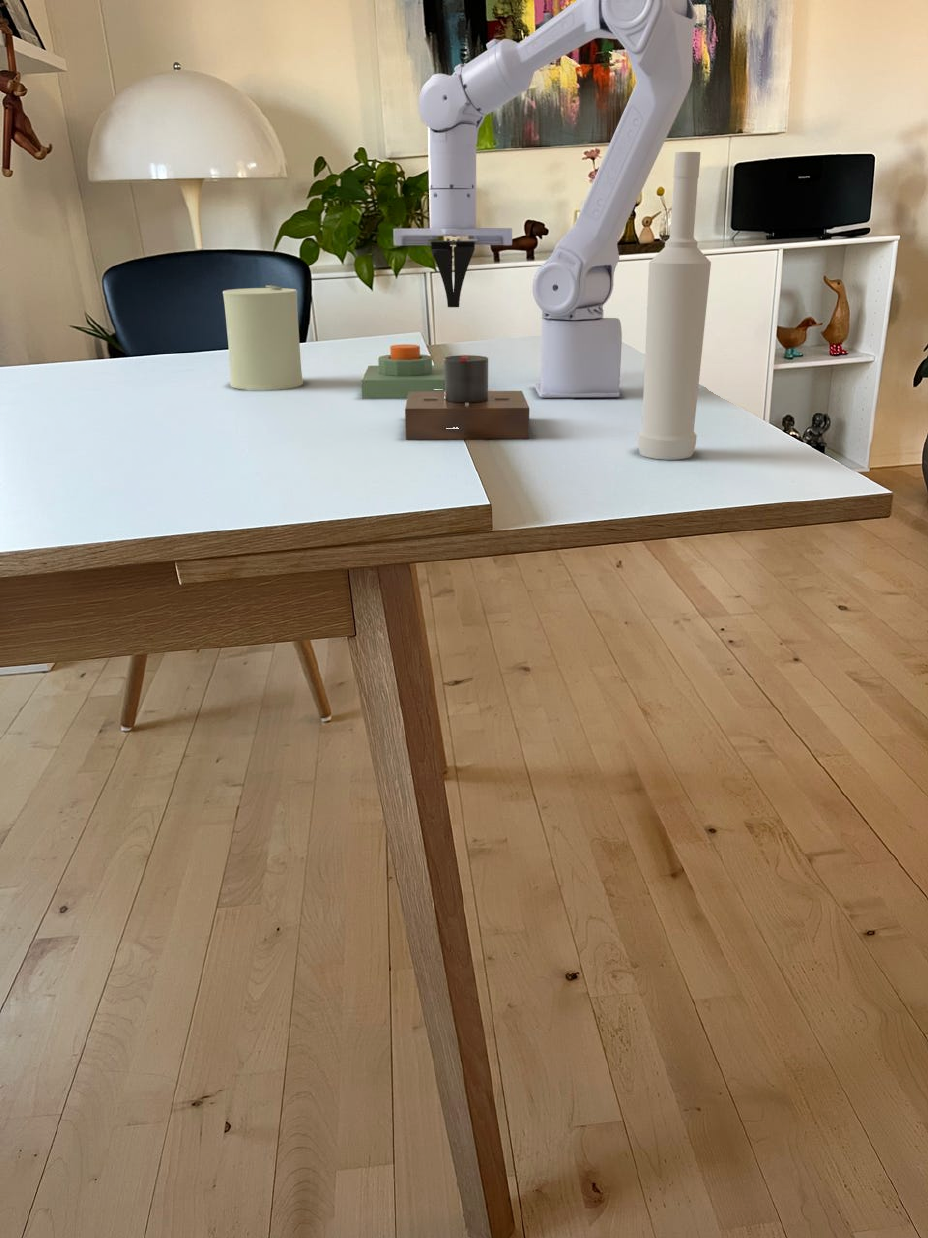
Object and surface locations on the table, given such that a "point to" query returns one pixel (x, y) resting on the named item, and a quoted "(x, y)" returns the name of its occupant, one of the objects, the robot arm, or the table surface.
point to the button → (405, 352)
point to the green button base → (401, 377)
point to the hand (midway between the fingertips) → (453, 306)
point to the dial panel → (467, 416)
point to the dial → (466, 378)
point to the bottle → (675, 326)
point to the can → (263, 338)
